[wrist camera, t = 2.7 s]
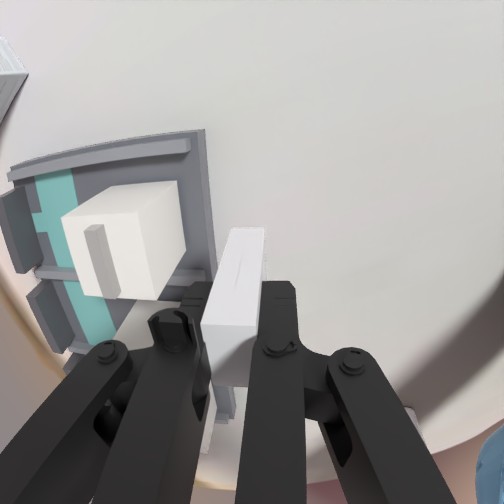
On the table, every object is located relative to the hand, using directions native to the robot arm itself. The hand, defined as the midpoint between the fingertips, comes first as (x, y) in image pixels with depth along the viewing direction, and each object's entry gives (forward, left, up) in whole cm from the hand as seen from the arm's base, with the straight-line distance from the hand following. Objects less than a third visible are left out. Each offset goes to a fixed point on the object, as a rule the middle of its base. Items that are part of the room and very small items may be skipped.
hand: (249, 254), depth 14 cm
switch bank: (+13, +10, -8) cm, 18 cm away
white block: (+8, 0, -6) cm, 10 cm away
